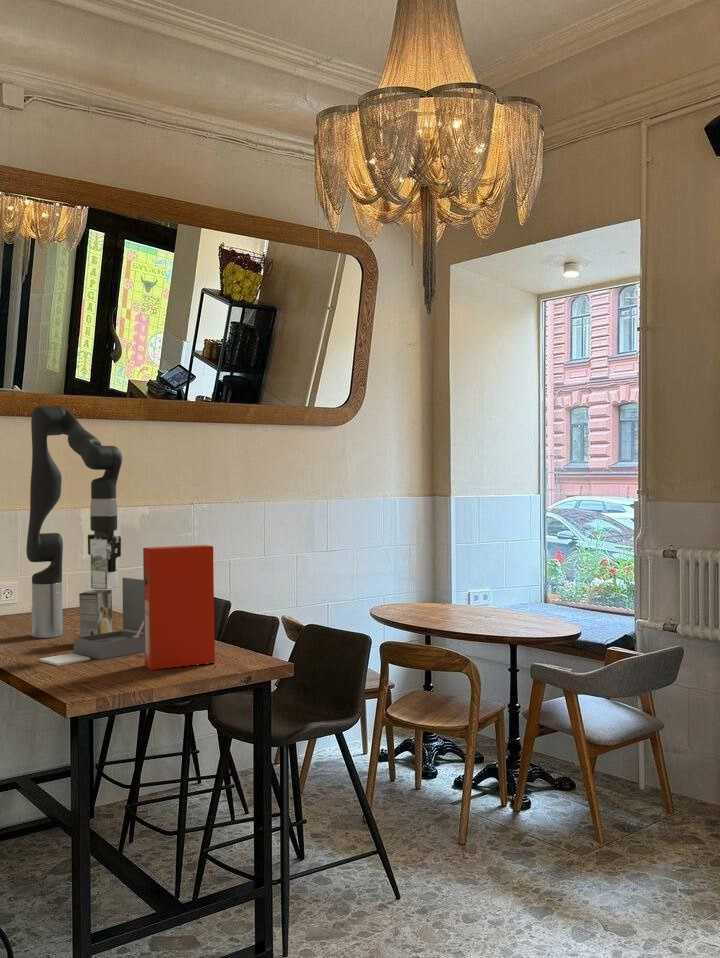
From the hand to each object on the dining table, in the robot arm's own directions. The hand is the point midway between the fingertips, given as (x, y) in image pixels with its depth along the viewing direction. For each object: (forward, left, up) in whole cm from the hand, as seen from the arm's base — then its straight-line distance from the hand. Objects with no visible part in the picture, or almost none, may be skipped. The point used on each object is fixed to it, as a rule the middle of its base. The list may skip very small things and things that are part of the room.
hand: (104, 570), depth 258 cm
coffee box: (-16, +7, -24) cm, 30 cm away
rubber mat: (0, -13, -24) cm, 27 cm away
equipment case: (0, +2, -24) cm, 24 cm away
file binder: (+30, +4, -24) cm, 39 cm away
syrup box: (0, 0, -5) cm, 5 cm away
